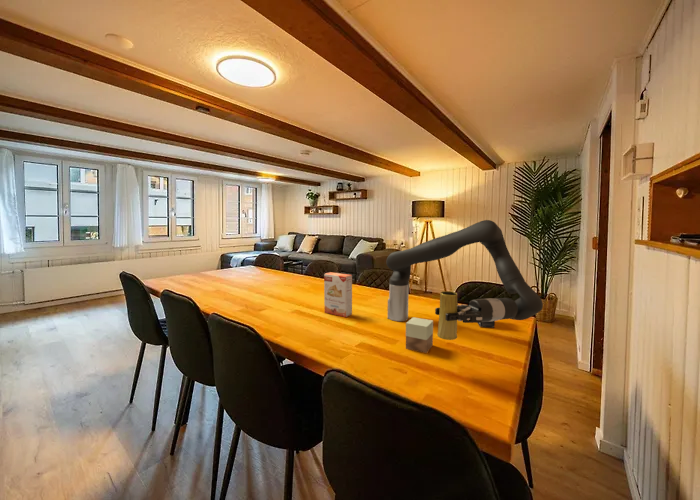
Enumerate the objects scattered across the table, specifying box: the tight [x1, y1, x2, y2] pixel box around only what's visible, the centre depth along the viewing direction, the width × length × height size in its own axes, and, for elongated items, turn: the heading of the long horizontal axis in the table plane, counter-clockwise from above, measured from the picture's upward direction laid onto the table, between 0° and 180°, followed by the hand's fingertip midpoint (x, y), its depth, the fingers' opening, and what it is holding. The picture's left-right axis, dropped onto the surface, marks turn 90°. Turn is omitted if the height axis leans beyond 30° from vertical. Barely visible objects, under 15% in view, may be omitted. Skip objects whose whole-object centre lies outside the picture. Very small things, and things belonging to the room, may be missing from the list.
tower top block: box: [405, 317, 434, 340], centre depth 116 cm, size 8×8×5 cm
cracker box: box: [323, 271, 353, 318], centre depth 157 cm, size 14×6×21 cm, turn 55°
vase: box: [436, 290, 458, 341], centre depth 98 cm, size 6×6×14 cm
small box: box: [477, 321, 496, 329], centre depth 142 cm, size 11×6×10 cm, turn 168°
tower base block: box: [405, 333, 434, 354], centre depth 116 cm, size 8×8×5 cm
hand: (441, 314), depth 97 cm, fingers closed on vase, 5 cm apart
